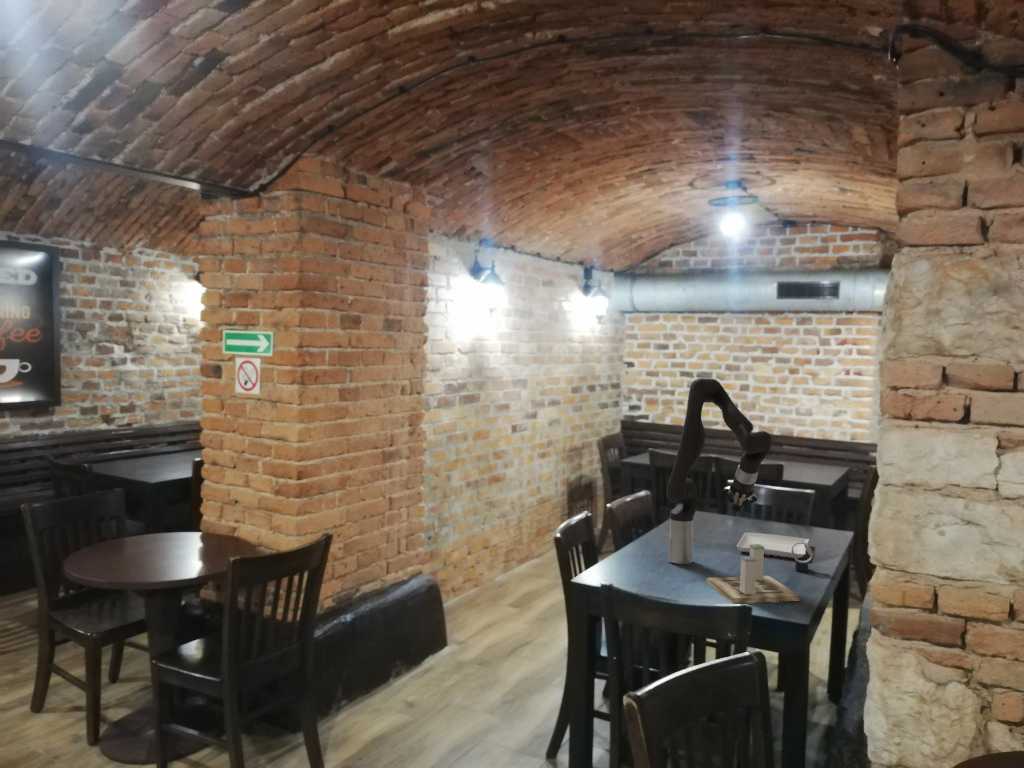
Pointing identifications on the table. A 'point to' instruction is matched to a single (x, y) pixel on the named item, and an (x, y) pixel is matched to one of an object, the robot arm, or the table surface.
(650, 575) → the table surface
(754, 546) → the tall beige block
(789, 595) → the switch board
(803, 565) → the watch
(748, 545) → the square plate
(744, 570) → the near switch
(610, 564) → the table surface
